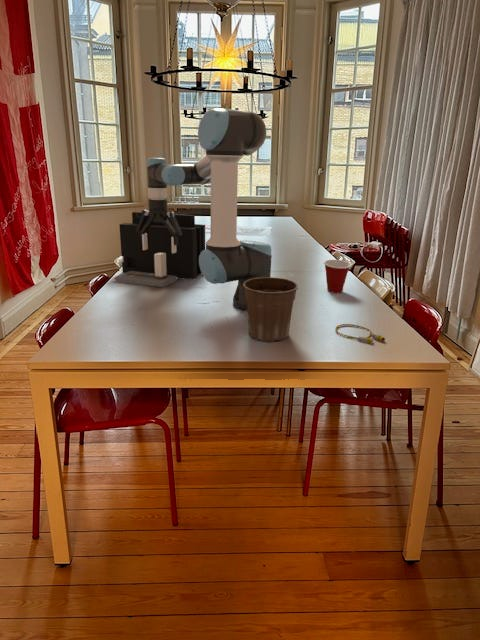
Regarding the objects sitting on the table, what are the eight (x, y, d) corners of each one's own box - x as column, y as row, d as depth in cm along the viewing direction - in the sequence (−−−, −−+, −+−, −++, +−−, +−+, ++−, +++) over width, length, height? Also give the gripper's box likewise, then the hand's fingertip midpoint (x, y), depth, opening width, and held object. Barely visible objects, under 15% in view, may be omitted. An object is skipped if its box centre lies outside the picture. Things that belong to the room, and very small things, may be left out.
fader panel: (163, 287, 190) (162, 282, 189) (115, 281, 197) (114, 276, 196) (176, 280, 200) (176, 275, 199) (130, 275, 207) (130, 270, 207)
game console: (122, 272, 212) (118, 213, 203) (153, 259, 239) (150, 206, 230) (193, 279, 202) (192, 217, 193) (217, 265, 230) (217, 210, 221)
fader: (160, 278, 193) (159, 255, 190) (154, 278, 194) (153, 254, 191) (167, 275, 198) (166, 252, 195) (161, 275, 199) (160, 252, 195)
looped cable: (347, 346, 135) (348, 340, 135) (329, 327, 150) (330, 322, 149) (386, 344, 137) (387, 338, 136) (364, 326, 152) (365, 320, 151)
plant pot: (290, 348, 132) (293, 294, 127) (235, 341, 136) (236, 288, 131) (298, 328, 147) (302, 279, 142) (249, 323, 151) (251, 275, 146)
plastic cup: (328, 296, 182) (331, 266, 178) (317, 288, 192) (319, 260, 188) (353, 294, 185) (356, 264, 181) (340, 287, 195) (343, 259, 191)
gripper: (190, 199, 184) (190, 252, 192) (135, 196, 192) (138, 246, 200) (181, 201, 178) (182, 255, 185) (125, 197, 186) (128, 249, 193)
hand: (159, 251), depth 192 cm, fingers open, 13 cm apart
